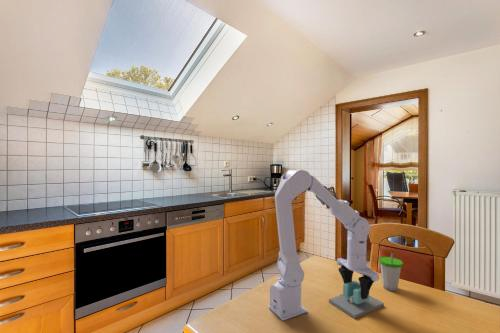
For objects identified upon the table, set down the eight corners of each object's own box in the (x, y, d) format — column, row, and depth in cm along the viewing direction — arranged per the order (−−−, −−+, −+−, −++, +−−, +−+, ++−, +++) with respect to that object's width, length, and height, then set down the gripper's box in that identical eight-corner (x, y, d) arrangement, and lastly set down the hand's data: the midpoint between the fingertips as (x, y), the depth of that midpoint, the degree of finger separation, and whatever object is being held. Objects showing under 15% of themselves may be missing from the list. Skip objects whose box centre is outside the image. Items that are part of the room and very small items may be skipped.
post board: (354, 318, 75) (354, 307, 74) (328, 302, 83) (329, 291, 83) (383, 306, 81) (383, 295, 81) (357, 292, 90) (357, 282, 90)
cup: (384, 281, 98) (384, 243, 98) (406, 289, 92) (406, 248, 92) (374, 287, 93) (374, 247, 93) (396, 296, 87) (397, 253, 87)
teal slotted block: (354, 292, 86) (354, 280, 86) (369, 299, 81) (369, 287, 81) (343, 296, 83) (343, 284, 83) (357, 304, 78) (357, 291, 78)
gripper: (385, 257, 78) (384, 301, 78) (346, 244, 90) (346, 281, 90) (370, 261, 74) (369, 307, 74) (332, 247, 87) (332, 286, 87)
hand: (356, 293), depth 82 cm, fingers closed on teal slotted block, 6 cm apart
